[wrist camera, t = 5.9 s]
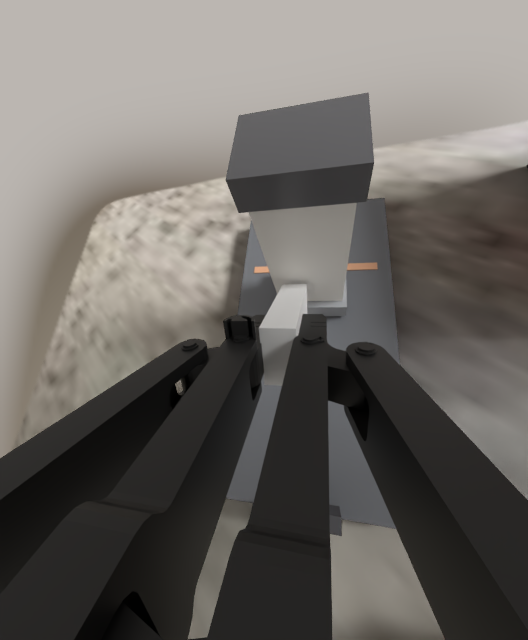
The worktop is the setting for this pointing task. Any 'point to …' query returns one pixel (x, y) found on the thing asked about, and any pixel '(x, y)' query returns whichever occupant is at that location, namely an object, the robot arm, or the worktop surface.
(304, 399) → the robot arm
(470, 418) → the worktop surface
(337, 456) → the fader console
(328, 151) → the fader knob
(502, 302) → the worktop surface
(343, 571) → the worktop surface
